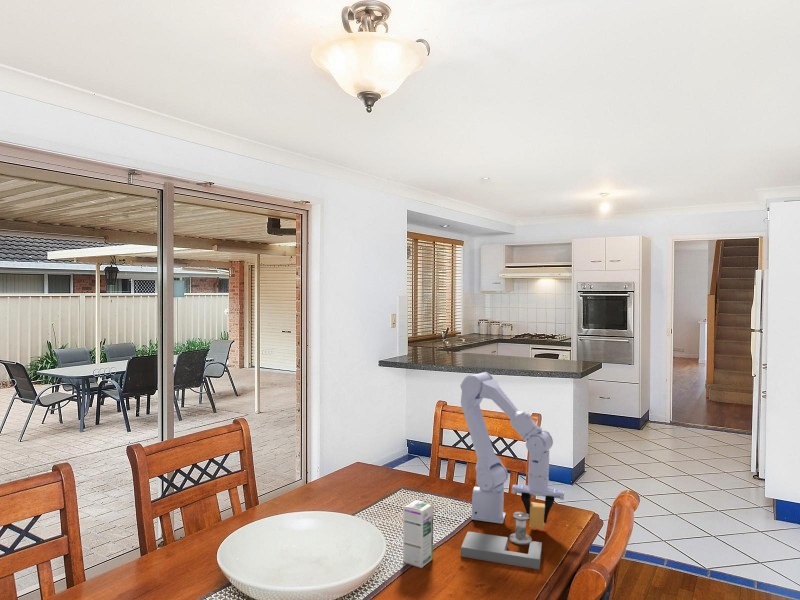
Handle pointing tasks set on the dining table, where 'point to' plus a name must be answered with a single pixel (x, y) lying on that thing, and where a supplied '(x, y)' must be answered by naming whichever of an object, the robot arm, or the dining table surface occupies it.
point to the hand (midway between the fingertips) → (537, 520)
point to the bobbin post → (520, 529)
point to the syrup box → (418, 533)
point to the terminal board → (499, 550)
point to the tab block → (537, 515)
